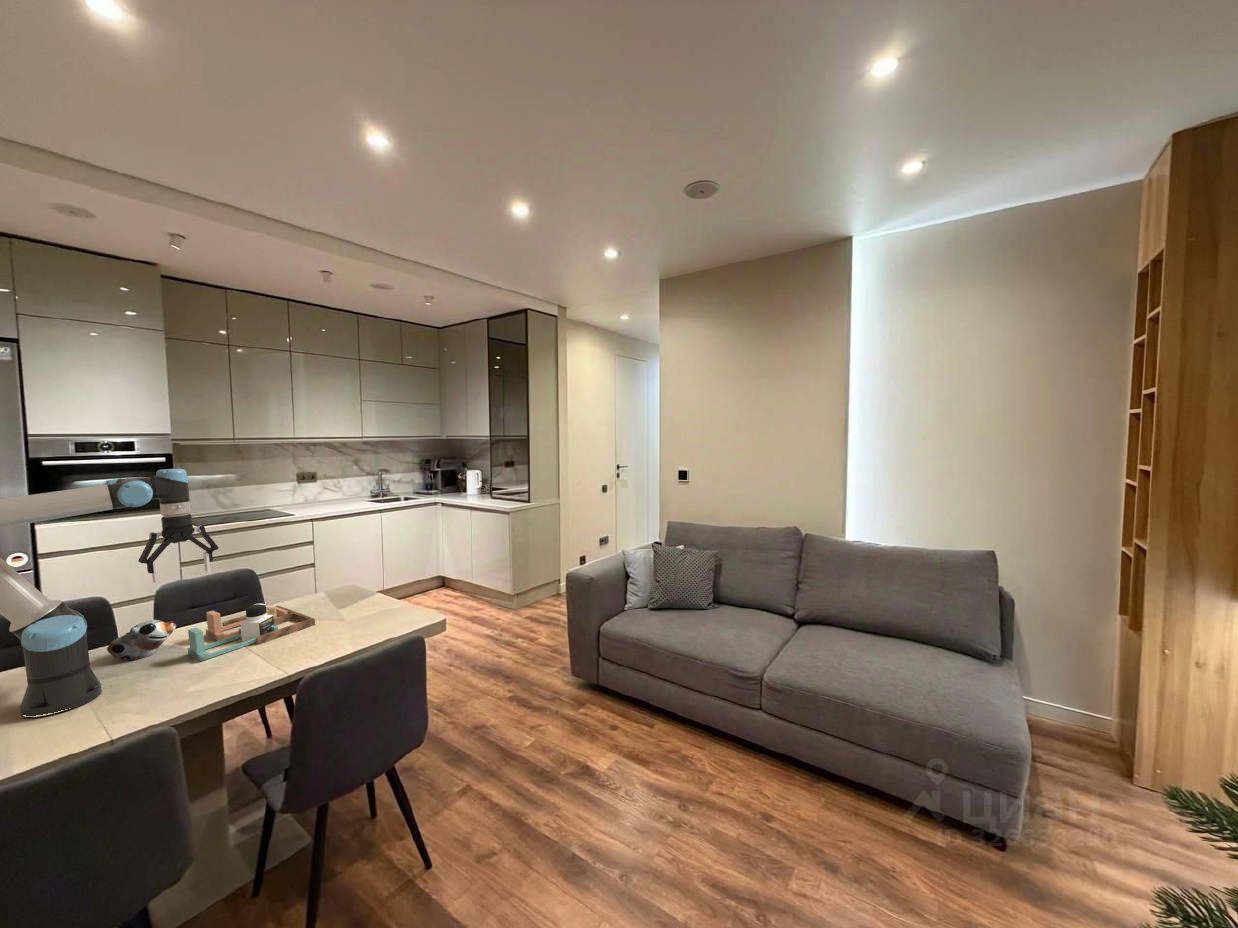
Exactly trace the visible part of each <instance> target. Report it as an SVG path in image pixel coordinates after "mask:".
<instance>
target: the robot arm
mask: <svg viewBox="0 0 1238 928" xmlns="http://www.w3.org/2000/svg"><path fill="white" fill-rule="evenodd" d="M187 473H188V472H187V470H185V469H183V468H169V469H168V468H167V469H158V470H157V471H156V474H155V475H154V476H153V475H152V476H147V477H146V476H145V477H130V478H129V477H127V478H115V479H113V478H112V479H107V480H106V481H105V482H104V484H100V485H95V486H87V487H85V486H84V487H79V488H78V487H77V488H71V489H64V490H58V491H57V490H56V491H50V492H42V493H41V492H40V493H35V494H27V495H21V496H13V497H6V498H0V529H2V528H7V527H8V528H9V527H14V526H21V525H25V524H26V525H27V524H32V523H39V522H44V521H49V520H51V521H52V520H57V519H62V518H69V517H73V516H74V517H75V516H79V515H87V514H93V513H98V512H104V511H110V510H118V509H123V508H129V507H130V508H137V507H143V506H145V505H147V504H149V502H150V501H151V500H159V508H160V516H161V519H160V521H161V528H162V529H161V531H160V532H154V531H153V532H150V533H149V535H148V536H149V539H148V541H147V543H146V545H145V547H144V548H143V551H142V553H140V556H139V558H138V563H140V564H146V568H147V569H146V570H147V572H148V574H151V576H152V583H154V584H158V583H159V575H158V566H157V565H158V564H157V562H155V561H156V560H157V559H158V557H160V555H161V554H162V553H163V552H164V551H165V550H166V548H167V547H168V546H170V544H179V543H185V542H186V541H188V540H189V541H190V542H191V543H193V544H195V545H196V546H198V547H199V548H200V549H202V550H203V551H205V552H203V564H204V571H205V572H207V573H210V572H211V563H212V562H213V560H214V556H213V553H214V552H215V551H217V550H219V548H220V547H219V546H218V545H217V544H216V542H215V541H214V539H212V537H211V536H210V535H209V533H207V531H206V527H205V526H204V525H201V524H200V525H198V526H193V518H192V514H191V513H192V510H191V502H190V501H191V499H190V488H189V480H188V479H189V478H188V474H187ZM195 531H196V533H199V534H200V535H201V536H202V538H203V539H204V541H206V543H207V544H208V545H209V546H210V547H209V546H208V545H206V544H204V543H203V542H202V541H200V540H199V539H197V538H196V537H195V536H193V534H194V533H195ZM160 537H162V538H163V540H162V542H161V543H160V544H159V546H158V547H156V548H155V550H154V551H153V552H152V550H153V548H154V546H155V544H156V542H157V540H159V539H160ZM151 552H152V553H151ZM210 562H211V563H210ZM0 615H2V616H3V617H4V618H5V619H6V620H8V621H9V622H10V626H9V629H8V631H9V632H11V634H13V636H15V637H16V638H18V639H19V640H20V644H21V646H22V651H23V658H24V659H23V660H24V666H25V673H26V675H25V676H26V682H27V686H26V689H25V692H24V694H23V698H22V701H21V704H20V706H19V707H20V708H19V709H20V714H22V715H26V716H36V715H43V714H48V713H54V712H58V711H61V710H65V709H69V708H74V709H76V708H75V707H77V706H79V707H81V706H83V705H82V704H84V705H86V704H88V703H89V701H90V702H92V701H93V700H95V699H96V698H98V697H99V696H100V695H101V694H102V692H103V687H102V683H101V682H100V680H99V678H98V677H97V676H96V674H95V672H94V671H93V669H92V668H91V664H90V663H91V662H90V655H89V654H90V653H89V645H88V638H87V637H88V636H87V629H88V623H87V620H86V618H85V617H84V615H83V614H81V613H80V612H79V611H77V610H74V609H72V608H70V607H69V606H68V605H67V604H66V603H64V602H63V601H62V600H61V599H49V598H48V597H47V596H45V595H44V594H43V593H42V592H41V591H40V590H39V589H37V587H36V586H34V585H33V584H32V583H30V582H29V581H28V580H27V579H26V578H25V577H24V576H23V575H22V574H20V573H19V572H17V571H16V569H14V568H13V567H12V566H11V565H10V564H8V562H6V561H5V560H4V559H3V558H1V557H0ZM91 700H92V701H91ZM87 702H88V703H87ZM85 703H86V704H85ZM80 705H81V706H80ZM77 708H78V707H77Z"/></svg>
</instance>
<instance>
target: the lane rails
mask: <svg viewBox="0 0 1238 928" xmlns="http://www.w3.org/2000/svg"><path fill="white" fill-rule="evenodd" d="M274 607H278V608H281V609H283V610H286V611H288V614H285V615H282V616H279V617H276V618H274V625H275V626H278V625H281V624H284V623H287V622H289V621H293V620H295V621H297V622H296V623H294V624H290V625H288V626H284V627H282V628H278V630H275V631H272V632H269V633H266V634H263V635H260V636H257V637H256V642H255V644H256V645H262V644H265V643H268V642H270V641H273V640H276V639H278V638H282V637H284V636H287V635H290V634H293V633H296V632H299V631H301V630H304V629H308V628H311V627H313V626H315V625H316V618H314V617H312V616H309V615H306V614H303V613H300V612H298V611H294V610H293V609H289V608H287V607H284V606H282V605H274ZM246 619H247V618H246V614H245V615H242V616H238V617H236V618H235V617H234V618H231V619H228V620H224V621H221V625H222V627H223V626H227V625H230V624H233V623H236V622H240V621H243V620H246ZM238 630H239V634H241V628H238Z"/></svg>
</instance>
